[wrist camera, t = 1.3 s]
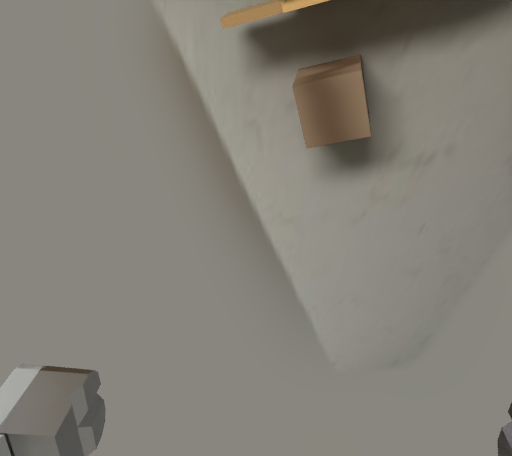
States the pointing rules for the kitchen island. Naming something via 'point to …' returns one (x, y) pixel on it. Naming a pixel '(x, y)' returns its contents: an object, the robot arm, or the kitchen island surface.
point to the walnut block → (332, 102)
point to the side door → (264, 10)
